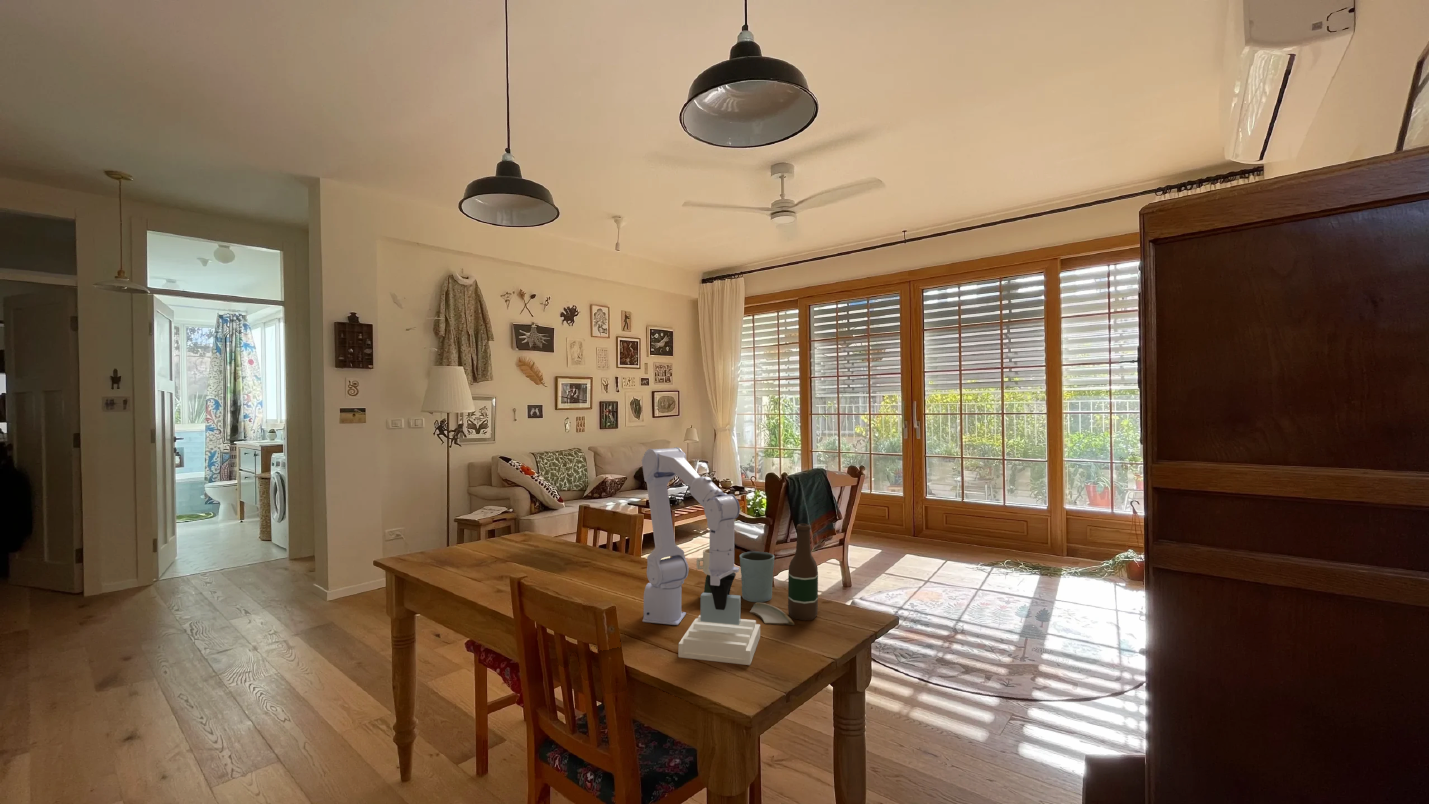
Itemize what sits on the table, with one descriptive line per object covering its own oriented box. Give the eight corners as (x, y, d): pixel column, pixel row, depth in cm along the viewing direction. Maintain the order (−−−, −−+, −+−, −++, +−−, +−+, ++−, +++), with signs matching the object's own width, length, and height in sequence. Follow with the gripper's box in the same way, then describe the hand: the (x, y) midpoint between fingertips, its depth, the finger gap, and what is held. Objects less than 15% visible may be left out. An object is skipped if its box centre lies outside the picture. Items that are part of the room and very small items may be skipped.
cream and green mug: (729, 590, 170) (729, 546, 170) (736, 598, 163) (736, 553, 163) (693, 593, 168) (694, 548, 168) (698, 601, 161) (699, 555, 161)
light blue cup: (748, 605, 158) (749, 561, 158) (733, 593, 167) (733, 552, 167) (780, 600, 162) (781, 558, 162) (763, 589, 172) (764, 549, 171)
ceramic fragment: (795, 626, 144) (794, 611, 144) (781, 632, 141) (781, 616, 141) (754, 612, 155) (754, 597, 155) (741, 617, 151) (741, 602, 151)
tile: (700, 621, 131) (700, 595, 131) (702, 618, 133) (702, 592, 133) (738, 624, 129) (739, 598, 129) (740, 621, 131) (740, 595, 131)
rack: (678, 657, 126) (678, 639, 126) (695, 630, 140) (695, 614, 140) (750, 665, 122) (750, 646, 122) (760, 636, 137) (760, 620, 137)
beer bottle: (804, 623, 146) (805, 529, 145) (781, 614, 151) (782, 524, 151) (823, 615, 151) (824, 525, 151) (801, 607, 157) (801, 520, 156)
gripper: (732, 557, 123) (732, 620, 123) (744, 541, 137) (743, 598, 138) (701, 555, 125) (700, 617, 125) (715, 539, 139) (715, 595, 139)
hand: (721, 607), depth 131 cm, fingers closed on tile, 2 cm apart
